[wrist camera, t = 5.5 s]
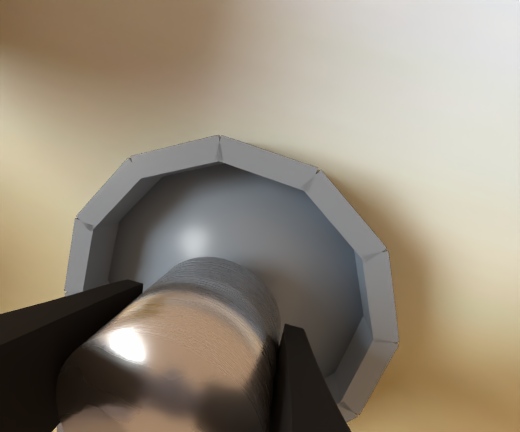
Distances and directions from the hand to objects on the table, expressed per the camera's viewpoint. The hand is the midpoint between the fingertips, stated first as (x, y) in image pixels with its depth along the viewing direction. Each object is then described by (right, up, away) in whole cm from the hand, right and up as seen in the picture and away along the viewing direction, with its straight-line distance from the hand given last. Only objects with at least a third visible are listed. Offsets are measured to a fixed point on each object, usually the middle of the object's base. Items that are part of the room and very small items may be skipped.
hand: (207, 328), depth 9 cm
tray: (0, +1, +3) cm, 3 cm away
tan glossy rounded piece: (0, 0, +1) cm, 1 cm away
